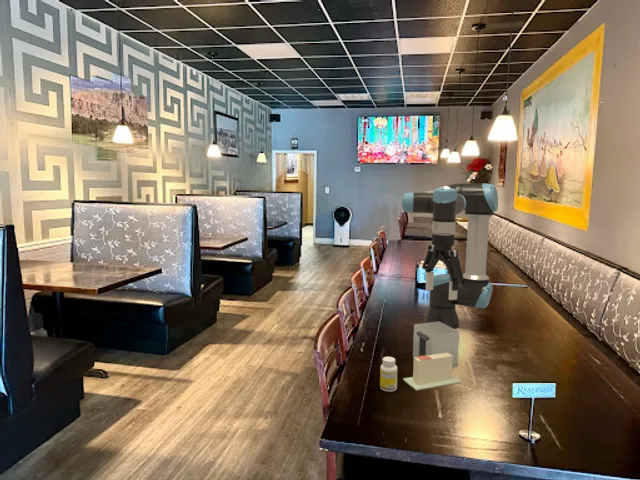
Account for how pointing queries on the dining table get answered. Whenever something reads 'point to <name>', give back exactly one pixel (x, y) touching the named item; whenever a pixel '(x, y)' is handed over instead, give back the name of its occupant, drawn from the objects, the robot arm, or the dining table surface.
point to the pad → (431, 384)
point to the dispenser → (435, 340)
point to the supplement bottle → (388, 374)
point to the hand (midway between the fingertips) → (440, 294)
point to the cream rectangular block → (432, 368)
